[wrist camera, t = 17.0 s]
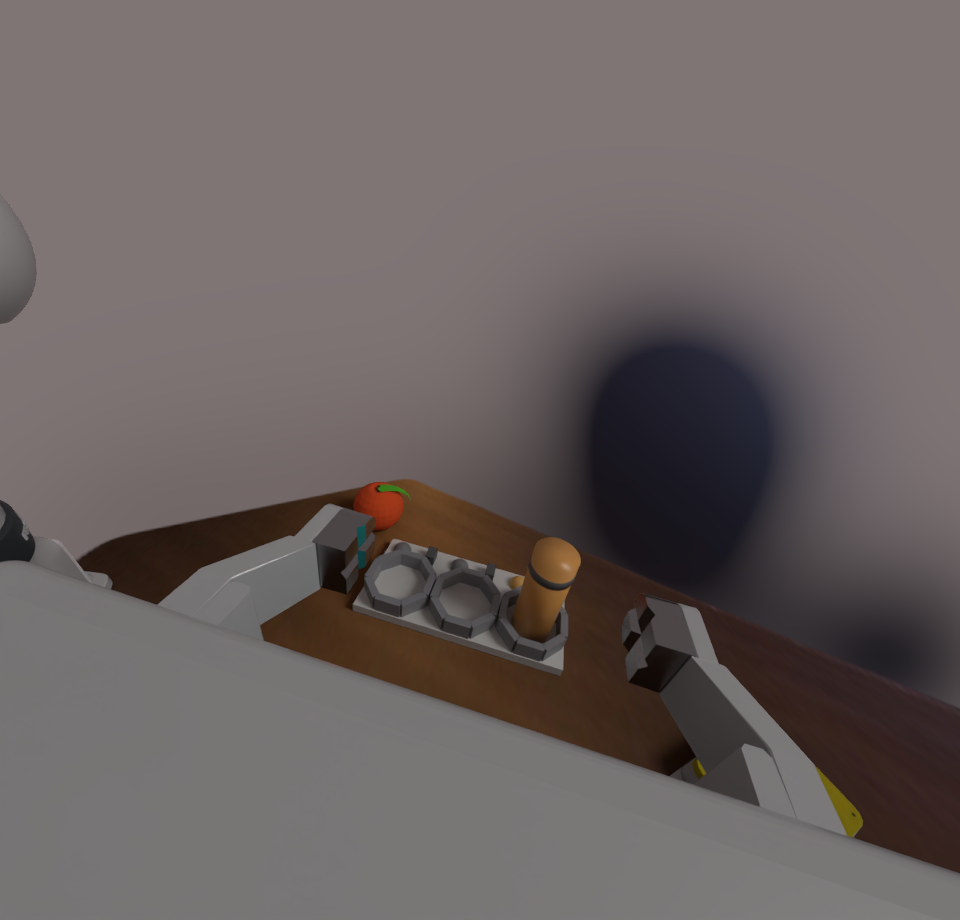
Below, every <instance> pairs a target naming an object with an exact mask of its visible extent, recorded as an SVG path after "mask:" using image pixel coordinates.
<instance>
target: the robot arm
mask: <svg viewBox="0 0 960 920" xmlns="http://www.w3.org/2000/svg"><path fill="white" fill-rule="evenodd" d="M35 281H36V260H35V255H34V252H33V248H32V245H31V242H30V240H29V237H28V235H27V233H26V231H25V229H24V227H23V225H22V223H21V222H20V220H19V218H18V217H17V216H16V214H15V213H14V211H13V210H12V208H11V207H10V205H9V204H8V203H7V202H6V201H5V200H4V198H3V197H2V196H1V195H0V324H2V323H7V322H10V321H11V320H12V319H14V318H15V317H16V316H17V315H18V314H19V313H20V312H21V311H22V310H23V308H24V307H25V305H26V304H27V303H28V301H29V299H30V297H31V295H32V292H33V289H34V286H35ZM375 527H376V519H375V518H374V517H372V516H369V515H366V514H363V513H359V512H356V511H353V510H350V509H347V508H342V507H339V506H336V505H333V504H327V505H325V506H324V507H323V508H322V509H321V510H320V511H319V512H318V513H317V514H316V515H315V516H314V517H313V518H312V519H311V520H310V521H309V522H308V523H307V524H306V525H305V526H304V527H303V528H302V529H301V530H300V531H299V532H298V533H297V534H296V535H295V536H294V537H293V536H287V537H284V538H282V539H279V540H276V541H274V542H271V543H268V544H265V545H263V546H260V547H257V548H255V549H252V550H249V551H246V552H244V553H241V554H238V555H236V556H233V557H230V558H227V559H225V560H222V561H219V562H217V563H214V564H211V565H208V566H206V567H203V568H200V569H199V570H198V571H197V572H196V573H195V574H193V575H192V576H191V577H190V578H189V579H187V580H186V581H185V582H184V583H183V584H181V585H180V586H179V587H178V588H177V589H176V590H174V591H173V592H172V593H171V594H170V595H168V596H167V597H166V598H165V599H164V600H163V601H161V602H160V603H159V604H158V605H155V604H152V603H149V602H146V601H143V600H140V599H137V598H134V597H131V596H129V595H126V594H123V593H120V592H117V591H114V590H111V587H112V580H111V579H110V578H109V577H108V576H107V575H106V574H102V573H94V572H86V571H83V569H82V568H81V567H80V565H79V564H78V563H77V562H76V560H75V559H74V558H73V557H72V555H71V554H70V553H69V551H68V550H67V549H66V548H65V547H64V545H63V544H62V543H61V542H60V541H58V540H56V539H47V538H43V537H33V536H32V535H31V533H30V532H29V528H28V526H27V524H26V523H25V521H24V520H23V519H22V517H21V516H20V515H19V514H17V513H16V512H15V511H14V510H13V509H12V507H11V506H9V505H8V504H7V503H5V502H3V501H1V500H0V920H960V873H957V872H954V871H951V870H948V869H945V868H942V867H939V866H936V865H933V864H930V863H927V862H924V861H921V860H918V859H915V858H912V857H909V856H906V855H903V854H900V853H897V852H894V851H891V850H888V849H885V848H882V847H879V846H876V845H873V844H870V843H867V842H864V841H861V840H858V839H855V838H852V837H849V836H847V834H846V831H845V829H844V827H843V825H842V823H841V821H840V819H839V817H838V815H837V812H836V810H835V808H834V806H833V804H832V802H831V800H830V798H829V795H828V793H827V791H826V789H825V787H824V785H823V783H822V781H821V779H820V776H819V774H818V772H817V770H816V768H815V766H814V764H813V763H812V762H811V761H810V760H809V758H808V757H807V756H806V755H805V754H804V753H803V752H802V751H801V750H800V749H799V747H798V746H797V745H796V744H795V743H794V742H793V741H792V740H791V739H790V738H789V736H788V735H787V734H786V733H785V732H784V731H783V730H782V729H781V728H780V727H779V725H778V724H777V723H776V722H775V721H774V720H773V719H772V718H771V717H770V715H769V714H768V713H767V712H766V711H765V710H764V709H763V708H762V707H761V706H760V704H759V703H758V702H757V701H756V700H755V699H754V698H753V697H752V696H751V695H750V693H749V692H748V691H747V690H746V689H745V688H744V687H743V686H742V685H741V684H740V682H739V681H738V680H737V679H736V678H735V677H734V676H733V675H732V674H731V673H730V671H729V670H728V669H727V668H726V667H725V666H723V665H720V664H719V663H718V661H717V658H716V655H715V653H714V650H713V647H712V644H711V642H710V639H709V636H708V633H707V631H706V628H705V625H704V622H703V620H702V617H701V614H700V612H699V611H698V610H697V609H696V608H693V607H689V606H686V605H682V604H679V603H675V602H671V601H668V600H664V599H660V598H657V597H653V596H649V595H646V594H642V593H641V594H640V595H638V597H637V598H636V600H635V601H634V602H635V609H632V610H630V611H628V613H627V615H626V617H625V618H624V622H623V627H622V639H623V644H624V646H625V647H626V649H627V650H628V652H629V653H628V655H627V656H626V658H625V663H626V670H627V677H628V682H629V683H632V684H635V685H638V686H641V687H644V688H646V689H649V690H652V691H655V692H658V693H660V694H659V695H660V697H661V698H662V700H663V702H664V703H665V705H666V707H667V708H668V710H669V712H670V714H671V715H672V717H673V719H674V720H675V722H676V724H677V725H678V727H679V729H680V730H681V732H682V734H683V735H684V737H685V739H686V740H687V742H688V744H689V745H690V747H691V749H692V750H693V752H694V754H695V755H696V757H697V759H698V760H699V762H700V764H701V765H702V767H703V769H704V770H705V772H706V774H705V775H704V776H703V777H701V778H700V779H699V780H698V781H696V782H695V783H694V784H690V783H687V782H684V781H681V780H678V779H675V778H672V777H669V776H666V775H663V774H660V773H658V772H655V771H652V770H649V769H646V768H643V767H640V766H637V765H634V764H631V763H628V762H625V761H622V760H619V759H616V758H613V757H610V756H607V755H604V754H601V753H598V752H595V751H592V750H589V749H586V748H583V747H580V746H577V745H574V744H571V743H568V742H565V741H562V740H559V739H556V738H553V737H550V736H547V735H544V734H541V733H538V732H535V731H532V730H529V729H526V728H523V727H520V726H517V725H514V724H511V723H508V722H505V721H502V720H499V719H496V718H493V717H490V716H487V715H484V714H481V713H478V712H475V711H472V710H469V709H466V708H463V707H460V706H457V705H454V704H451V703H448V702H445V701H442V700H439V699H436V698H433V697H430V696H427V695H424V694H421V693H418V692H415V691H412V690H409V689H406V688H403V687H400V686H397V685H394V684H391V683H388V682H385V681H382V680H379V679H376V678H373V677H370V676H367V675H364V674H361V673H358V672H355V671H352V670H349V669H346V668H343V667H340V666H337V665H334V664H331V663H328V662H325V661H322V660H319V659H316V658H313V657H310V656H307V655H304V654H301V653H298V652H295V651H292V650H290V649H287V648H284V647H281V646H278V645H275V644H272V643H269V642H266V641H264V639H263V635H262V631H261V628H260V625H261V624H262V623H264V622H266V621H267V620H269V619H271V618H272V617H274V616H276V615H277V614H279V613H281V612H282V611H284V610H286V609H287V608H289V607H291V606H292V605H294V604H295V603H297V602H299V601H300V600H302V599H304V598H305V597H307V596H309V595H310V594H312V593H314V592H315V591H317V590H319V589H320V587H322V588H326V589H329V590H333V591H336V592H340V593H343V594H348V592H349V591H350V589H351V588H352V586H353V585H354V583H355V582H356V580H357V579H358V570H359V569H361V568H363V567H365V566H366V565H367V563H368V562H369V560H370V558H371V556H372V554H373V551H374V547H375V539H376V537H375V536H374V534H373V533H372V531H373V530H374V528H375Z"/></svg>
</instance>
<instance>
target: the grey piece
mask: <svg viewBox="0 0 960 920" xmlns="http://www.w3.org/2000/svg"><path fill="white" fill-rule="evenodd" d="M496 566H497V565H493V564H490V563H488V564H487V566H486V565H483V564H479V563H476V562H472V561H469V560H465V559H462V558H459V557H455V556H452V555H448V554H445V553H441V552H438V548H434V547H431V546H429V548H424V547H421V546H417V545H414V544H410V543H407V542H404V541H400V540H397V539H393V540H392V542H391V544H390V545H389V547H388V548H387V550H386V552H385V553H384V554H383V555H380V556H378V558H375V560H374V561H373V563H372V565H371V566H370V568H369V569H368V571H367V572H366V574H365V577H364V587H363V589H362V590H361V592H360V593H359V595H358V597H357V598H356V600H355V601H354V603H353V611H355V612H358V613H362V614H365V615H368V616H371V617H374V618H377V619H381V620H384V621H387V622H390V623H393V624H396V625H400V626H403V627H406V628H409V629H412V630H415V631H419V632H422V633H425V634H428V635H431V636H434V637H438V638H441V639H444V640H447V641H450V642H453V643H457V644H460V645H463V646H466V647H469V648H472V649H476V650H479V651H482V652H485V653H488V654H491V655H495V656H498V657H501V658H504V659H507V660H510V661H514V662H517V663H520V664H523V665H526V666H529V667H533V668H536V669H539V670H542V671H545V672H548V673H552V674H555V675H558V676H560V675H561V673H562V671H563V647H564V644H565V642H566V640H567V638H568V614H566V613H567V612H566V610H565V609H564V602H563V604H562V607H561V609H560V611H559V614H558V616H557V618H556V620H555V623H554V625H553V627H552V629H551V632H550V634H549V636H548V638H547V640H546V641H545V642H544V643H539V642H536V641H532V640H529V639H526V638H523V637H520V636H519V635H518V634H517V632H516V631H515V629H514V628H513V626H512V625H511V624H510V622H511V617H512V614H513V611H514V608H515V605H516V602H517V599H518V596H519V593H520V590H521V587H522V584H523V581H524V578H525V577H524V576H521V575H517V574H514V573H510V572H507V571H503V570H500V569H496Z"/></svg>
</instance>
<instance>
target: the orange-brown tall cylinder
mask: <svg viewBox="0 0 960 920" xmlns="http://www.w3.org/2000/svg"><path fill="white" fill-rule="evenodd" d="M580 563H581V559H580V555H579V553H578V552H577V550H576V549H575V548H574V547H573V546H572V545H571V544H569V543H568V542H566V541H564V540H562V539H558V538H553V537H547V538H543V539H541V540H539V541H538V542H537V543H536V545H535V548H534V551H533V553H532V555H531V558H530V561H529V565H528V569H527V572H526V575H525V578H524V581H523V584H522V587H521V590H520V593H519V596H518V599H517V602H516V605H515V608H514V611H513V614H512V617H511V622H510V624H511V625H512V626H513V628H514V629H515V631H516V632H517V634H518V635H519V636H520V637H523V638H526V639H529V640H532V641H536V642H539V643H544V642H545V641H546V640H547V638H548V636H549V634H550V632H551V629H552V627H553V625H554V623H555V620H556V618H557V616H558V614H559V611H560V609H561V607H562V604H563V602H564V600H565V598H566V595H567V593H568V591H569V589H570V586H571V585H572V583H573V581H574V579H575V576H576V573H577V570H578V568H579V566H580Z"/></svg>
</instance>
